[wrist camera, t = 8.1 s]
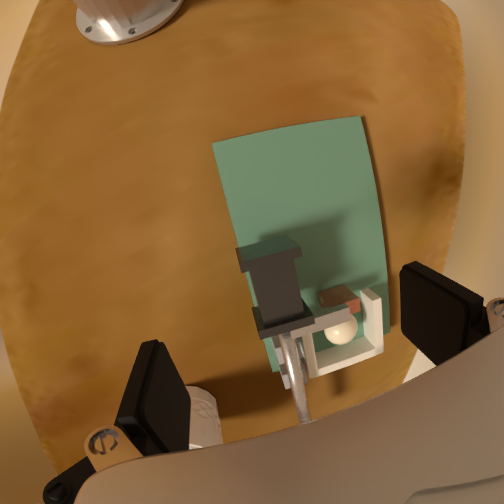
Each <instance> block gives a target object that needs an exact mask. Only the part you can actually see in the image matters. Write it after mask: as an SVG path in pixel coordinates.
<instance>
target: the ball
mask: <svg viewBox="0 0 504 504" xmlns="http://www.w3.org/2000/svg"><path fill="white" fill-rule="evenodd" d="M350 318H351V320H350V321H348V322H345V323H342V324H339V325H336V326H333V327H330V328H327V329H324V333H325V336H326V337H327V339H328V340H329V341H330V342H332V343H334V344H338V345H342V344H346V343H348V342H350V341H351V340H352V339H353V338H354V337H355V335H356V333H357V329H358V325H357V321H356V319H355V317H354V316H353V315H352V314H350Z"/></svg>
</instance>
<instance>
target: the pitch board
mask: <svg viewBox="0 0 504 504" xmlns="http://www.w3.org/2000/svg"><path fill="white" fill-rule="evenodd" d="M212 147H213V151H214V155H215V159H216V163H217V167H218V170H219V174H220V178H221V182H222V186H223V190H224V194H225V198H226V201H227V205H228V209H229V213H230V217H231V221H232V224H233V228H234V232H235V236H236V239H237V243H238V247H242V246H246V245H250V244H254V243H257V242H261V241H265V240H269V239H272V238H276V237H280V236H284V235H288V236H289V237H290V238H291V239H292V240H294V241H295V242H296V243H297V244H298V245H300V246H301V251H302V256H303V257H299V258H295V259H294V264H295V269H296V273H297V278H298V283H299V288H300V293H301V297H302V299H303V300H304V302H305V303H306V305H307V306H308V308H309V309H310V310H311V312H315V311H318V310H321V309H322V307H321V306H320V305H319V299H318V292H321V291H325V290H328V289H331V288H334V287H337V286H341V285H345V286H346V287H348V288H349V289H350V290H351V291H352V292H353V293H354V294H355V295H357V296H358V297H359V299H360V309H361V311H359V312H356V313H353V314H352V315H353V316H354V317H355V319H356V321H357V325H358V329H357V333H356V335H355V337H354V338H353V339H352V340H354V339H357V338H360V337H362V336H364V325H363V313H362V303H361V293H360V290H363V289H366V288H369V289H370V290H372V291H373V292H374V293H376V294H377V295H378V296H379V297H381V304H382V322H383V335H385V334H387V333H390V310H389V292H388V278H387V266H386V256H385V246H384V238H383V230H382V223H381V216H380V209H379V203H378V196H377V191H376V185H375V180H374V174H373V169H372V164H371V159H370V155H369V150H368V146H367V141H366V137H365V133H364V129H363V125H362V121H361V117H360V116H355V117H347V118H339V119H332V120H325V121H318V122H312V123H306V124H300V125H294V126H288V127H283V128H278V129H273V130H268V131H263V132H258V133H254V134H249V135H245V136H240V137H236V138H232V139H228V140H224V141H220V142H216V143H212ZM245 273H246V277H247V281H248V284H249V288H250V292H251V295H252V299H253V303H254V307H256V306H258V304H257V300H256V296H255V293H254V289H253V285H252V281H251V278H250V274H249V271H248V272H245ZM312 338H313V344H314V350H315V353H316V352H319V351H322V350H325V349H328V348H331V347H334V346H337V345H338V344H334V343H332V342H330V341H329V340H328V339H327V337H326V336H325V333H324V330H321V331H318V332H314V333H312ZM295 342H296V346H297V351H298V356H299V360H300V365H301V370H302V375H303V380H304V384H306V383H308V382H307V377H306V372H305V368H304V366H303V361H302V358H303V357H302V352H301V347H300V342H299V340H298V338H295ZM264 343H265V347H266V350H267V354H268V357H269V361H270V365H271V368H272V372H276V371H280V374H281V377H282V380H283V383H284V386H285V389H289V388H291V386H290V382H289V378H288V374H287V370H286V366H285V362H284V358H283V354H282V350H281V345H280V341H279V337H278V335H276V336H272V337H269V338H265V339H264Z"/></svg>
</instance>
